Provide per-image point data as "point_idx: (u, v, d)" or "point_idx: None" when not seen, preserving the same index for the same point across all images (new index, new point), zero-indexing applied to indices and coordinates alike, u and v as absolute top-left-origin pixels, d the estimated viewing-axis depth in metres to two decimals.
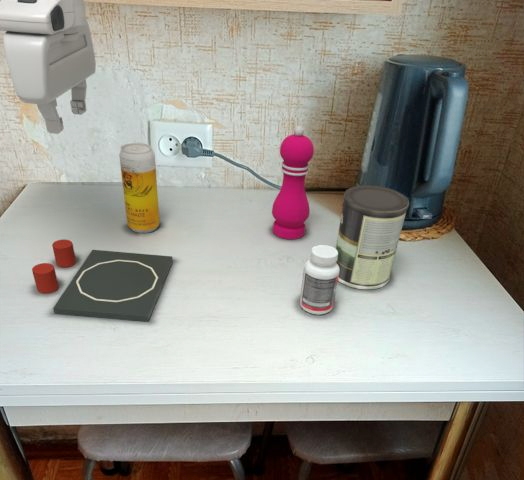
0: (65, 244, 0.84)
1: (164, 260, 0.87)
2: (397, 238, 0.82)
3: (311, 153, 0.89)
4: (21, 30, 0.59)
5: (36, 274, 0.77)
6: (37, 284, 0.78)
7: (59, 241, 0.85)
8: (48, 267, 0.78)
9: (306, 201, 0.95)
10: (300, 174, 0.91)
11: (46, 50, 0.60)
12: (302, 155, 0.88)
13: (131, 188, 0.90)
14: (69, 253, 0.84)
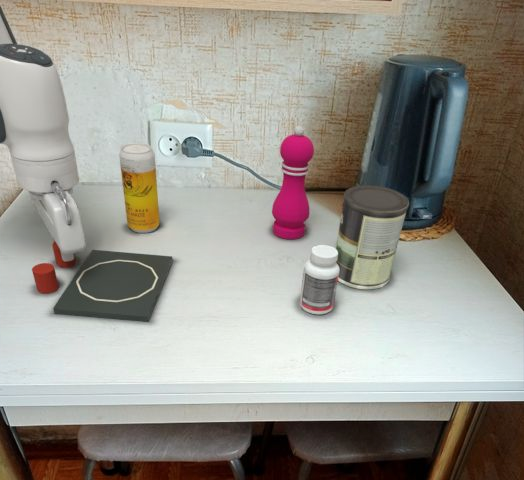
0: None
1: (164, 260, 0.87)
2: (397, 238, 0.82)
3: (311, 153, 0.89)
4: None
5: (36, 274, 0.77)
6: (37, 284, 0.78)
7: None
8: (48, 267, 0.78)
9: (306, 201, 0.95)
10: (300, 174, 0.91)
11: None
12: (302, 155, 0.88)
13: (131, 188, 0.90)
14: None
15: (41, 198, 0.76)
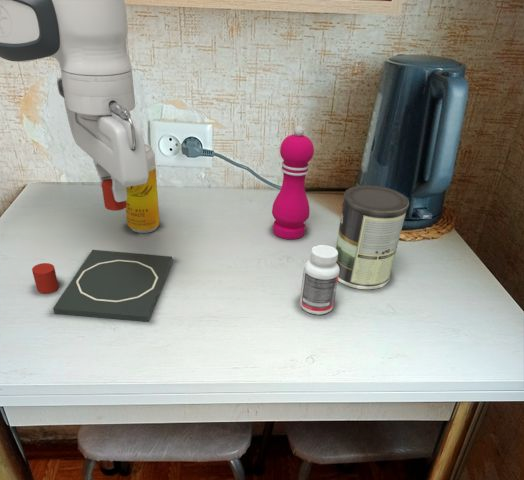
0: None
1: (164, 260, 0.87)
2: (397, 238, 0.82)
3: (311, 153, 0.89)
4: None
5: (36, 274, 0.77)
6: (37, 284, 0.78)
7: (108, 181, 0.75)
8: (48, 267, 0.78)
9: (306, 201, 0.95)
10: (300, 174, 0.91)
11: (65, 105, 0.73)
12: (302, 155, 0.88)
13: (131, 188, 0.90)
14: None
15: (95, 124, 0.67)
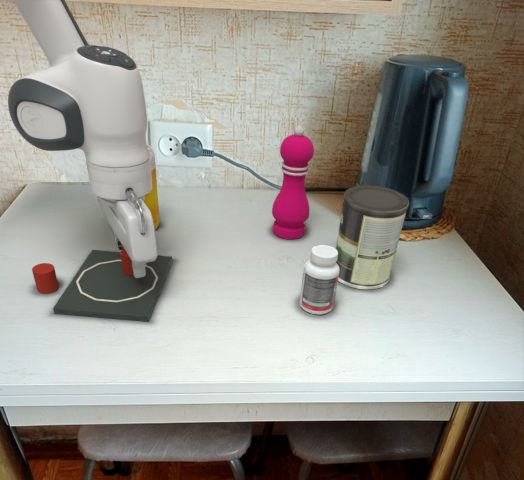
0: None
1: (164, 260, 0.87)
2: (397, 238, 0.82)
3: (311, 153, 0.89)
4: None
5: (36, 274, 0.77)
6: (37, 284, 0.78)
7: None
8: (48, 267, 0.78)
9: (306, 201, 0.95)
10: (300, 174, 0.91)
11: None
12: (302, 155, 0.88)
13: None
14: None
15: (114, 205, 0.73)
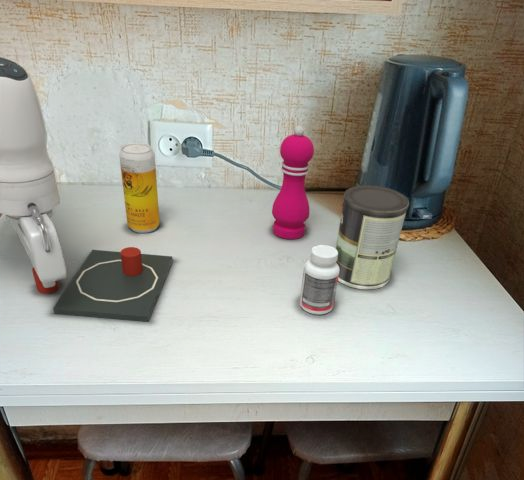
0: (134, 252, 0.81)
1: (164, 260, 0.87)
2: (397, 238, 0.82)
3: (311, 153, 0.89)
4: None
5: (36, 274, 0.77)
6: (37, 284, 0.78)
7: (127, 249, 0.82)
8: None
9: (306, 201, 0.95)
10: (300, 174, 0.91)
11: None
12: (302, 155, 0.88)
13: (131, 188, 0.90)
14: (137, 262, 0.81)
15: (18, 221, 0.70)
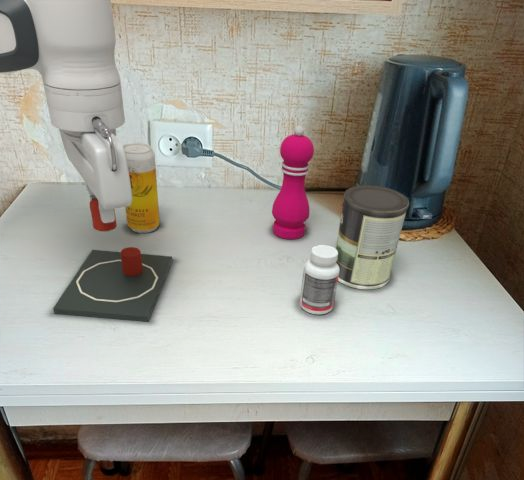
0: (134, 252, 0.81)
1: (164, 260, 0.87)
2: (397, 238, 0.82)
3: (311, 153, 0.89)
4: None
5: (94, 207, 0.69)
6: (94, 221, 0.70)
7: (127, 249, 0.82)
8: None
9: (306, 201, 0.95)
10: (300, 174, 0.91)
11: None
12: (302, 155, 0.88)
13: (131, 188, 0.90)
14: (137, 262, 0.81)
15: (79, 141, 0.62)
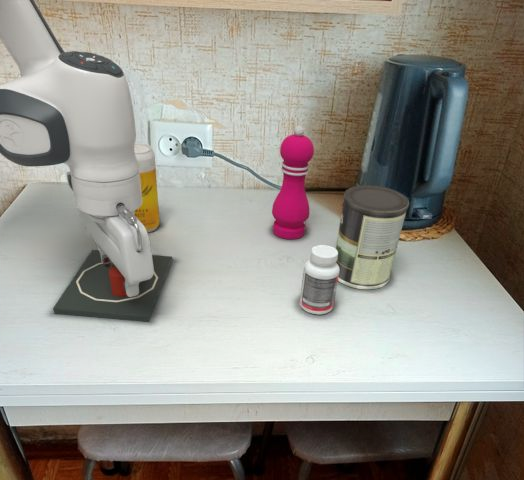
0: None
1: (164, 260, 0.87)
2: (397, 238, 0.82)
3: (311, 153, 0.89)
4: None
5: (114, 277, 0.76)
6: (113, 288, 0.77)
7: None
8: None
9: (306, 201, 0.95)
10: (300, 174, 0.91)
11: None
12: (302, 155, 0.88)
13: None
14: None
15: (103, 222, 0.68)
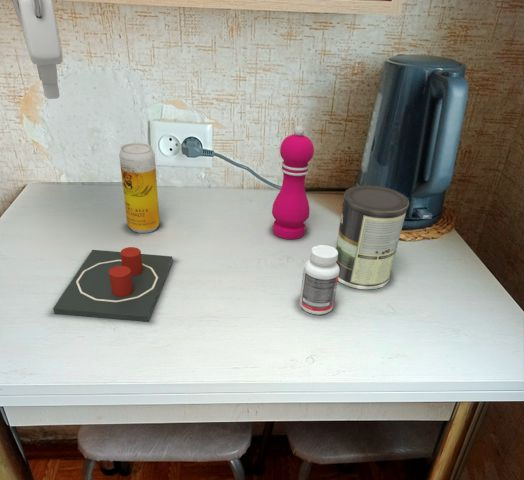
0: (134, 252, 0.81)
1: (164, 260, 0.87)
2: (397, 238, 0.82)
3: (311, 153, 0.89)
4: None
5: (114, 277, 0.76)
6: (113, 288, 0.77)
7: (127, 249, 0.82)
8: (124, 269, 0.77)
9: (306, 201, 0.95)
10: (300, 174, 0.91)
11: None
12: (302, 155, 0.88)
13: (131, 188, 0.90)
14: (137, 262, 0.81)
15: None
